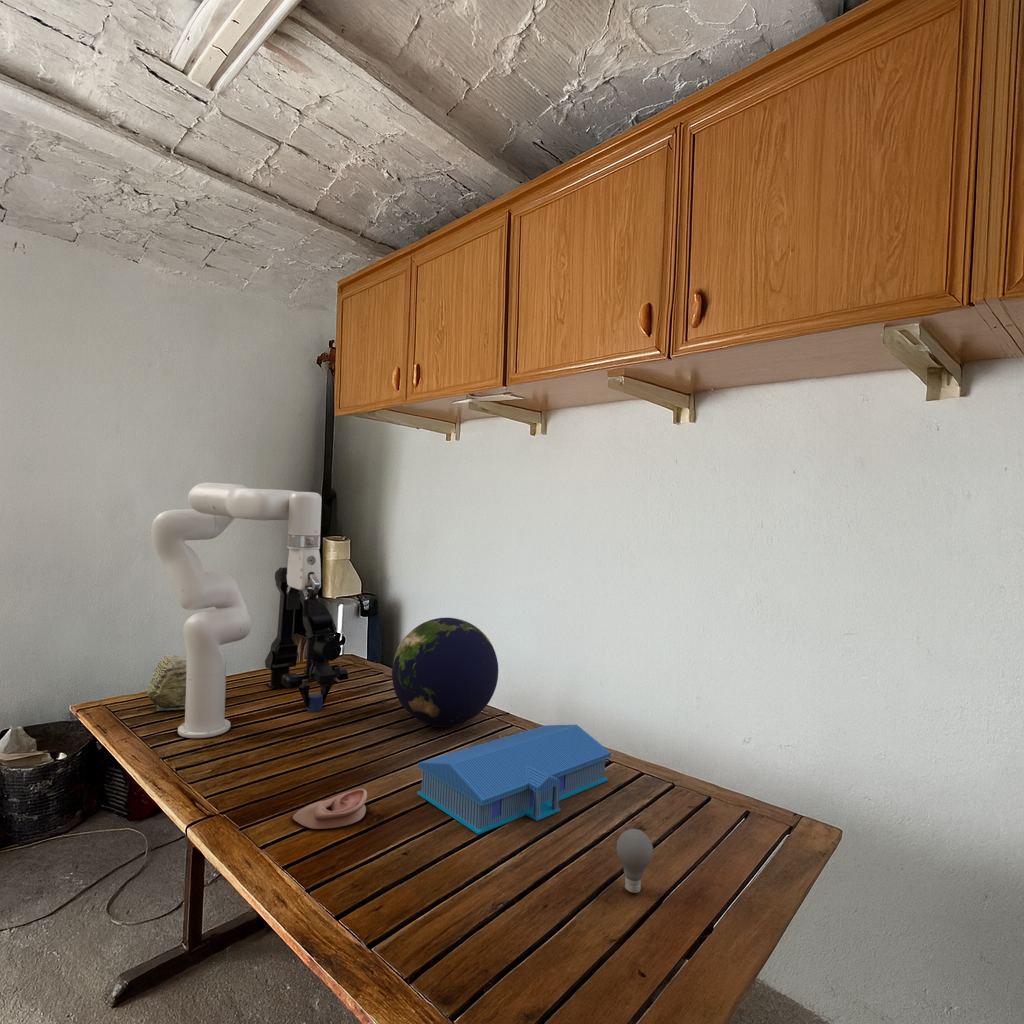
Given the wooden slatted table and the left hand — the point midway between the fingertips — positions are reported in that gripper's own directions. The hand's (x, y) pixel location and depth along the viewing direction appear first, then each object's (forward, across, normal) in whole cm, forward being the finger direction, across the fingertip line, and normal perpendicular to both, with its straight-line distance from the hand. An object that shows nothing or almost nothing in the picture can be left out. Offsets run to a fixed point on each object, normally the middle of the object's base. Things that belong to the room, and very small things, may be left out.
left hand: (301, 612), depth 154 cm
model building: (+35, -46, -32) cm, 66 cm away
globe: (+35, -3, -42) cm, 54 cm away
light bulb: (+35, -85, -23) cm, 95 cm away
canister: (+35, +29, -17) cm, 48 cm away
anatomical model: (+35, -33, +6) cm, 48 cm away
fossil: (+35, +51, +13) cm, 63 cm away
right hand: (+34, +29, -17) cm, 48 cm away
